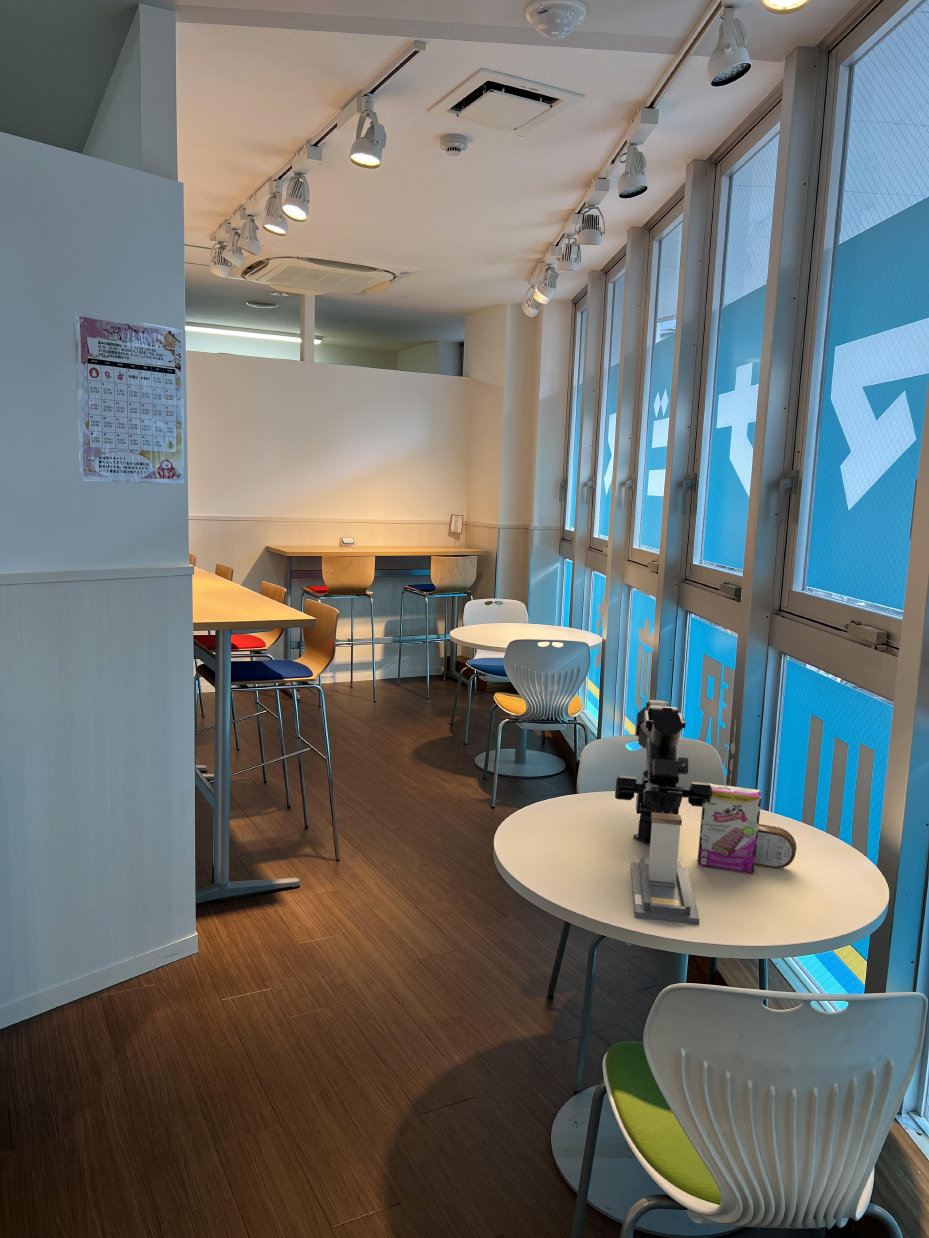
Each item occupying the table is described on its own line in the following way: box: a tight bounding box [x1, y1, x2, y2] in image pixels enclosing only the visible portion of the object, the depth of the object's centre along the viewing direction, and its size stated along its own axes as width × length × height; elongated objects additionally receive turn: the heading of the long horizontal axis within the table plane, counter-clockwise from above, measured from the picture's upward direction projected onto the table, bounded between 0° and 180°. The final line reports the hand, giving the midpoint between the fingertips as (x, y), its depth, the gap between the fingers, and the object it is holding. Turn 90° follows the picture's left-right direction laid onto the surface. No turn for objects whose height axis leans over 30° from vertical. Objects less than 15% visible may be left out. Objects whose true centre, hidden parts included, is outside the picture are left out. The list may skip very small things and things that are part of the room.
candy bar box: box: [697, 782, 762, 875], centre depth 173 cm, size 11×5×16 cm, turn 74°
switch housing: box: [630, 857, 700, 925], centre depth 160 cm, size 22×11×2 cm, turn 171°
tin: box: [755, 823, 797, 870], centre depth 175 cm, size 15×3×8 cm, turn 68°
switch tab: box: [648, 812, 683, 883], centre depth 162 cm, size 3×5×12 cm, turn 81°
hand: (662, 830), depth 168 cm, fingers closed
